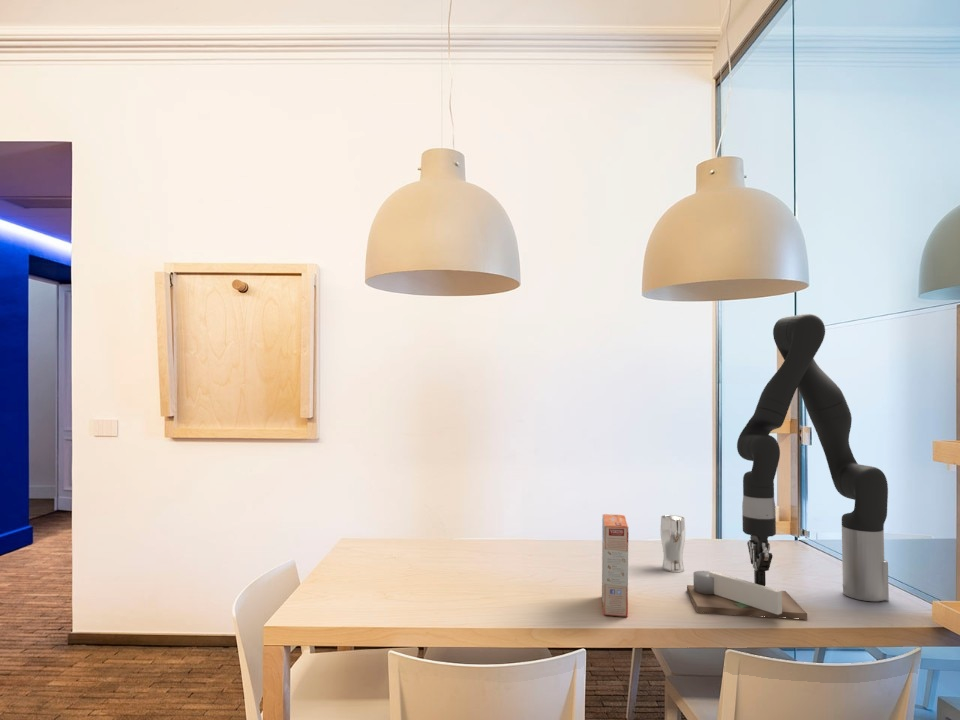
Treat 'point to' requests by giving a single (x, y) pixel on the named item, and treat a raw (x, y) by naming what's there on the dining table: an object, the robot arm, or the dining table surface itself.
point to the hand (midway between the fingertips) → (759, 585)
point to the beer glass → (673, 542)
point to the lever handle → (738, 590)
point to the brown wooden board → (741, 606)
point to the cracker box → (615, 565)
